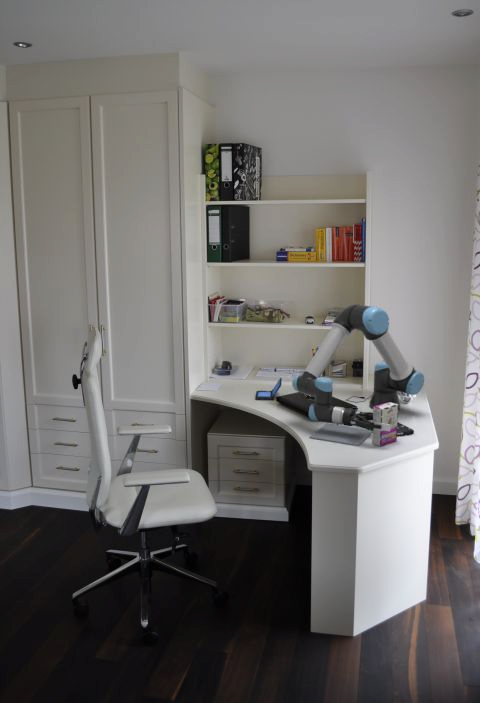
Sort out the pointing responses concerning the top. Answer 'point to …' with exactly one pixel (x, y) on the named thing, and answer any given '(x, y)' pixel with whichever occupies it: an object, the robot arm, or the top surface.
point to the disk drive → (403, 430)
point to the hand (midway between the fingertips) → (393, 423)
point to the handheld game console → (268, 392)
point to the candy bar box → (387, 416)
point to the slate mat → (341, 434)
